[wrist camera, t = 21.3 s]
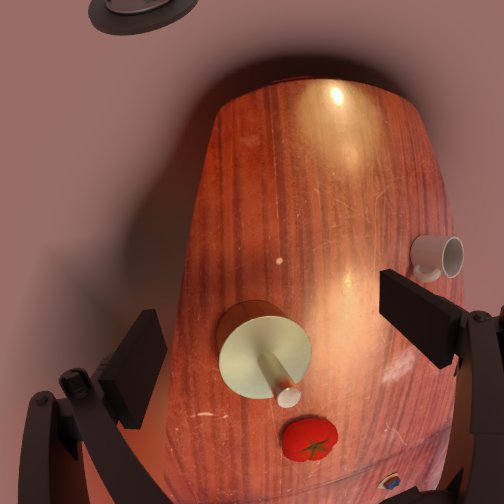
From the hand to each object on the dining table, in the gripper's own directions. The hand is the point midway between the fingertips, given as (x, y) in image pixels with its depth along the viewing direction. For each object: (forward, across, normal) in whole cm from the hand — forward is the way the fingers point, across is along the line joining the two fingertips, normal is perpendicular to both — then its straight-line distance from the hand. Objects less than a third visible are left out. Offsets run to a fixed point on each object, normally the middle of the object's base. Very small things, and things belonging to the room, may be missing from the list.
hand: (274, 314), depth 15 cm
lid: (+16, 0, -14) cm, 22 cm away
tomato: (+23, +5, -39) cm, 46 cm away
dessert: (+22, +32, -81) cm, 90 cm away
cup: (+31, +32, -10) cm, 46 cm away
